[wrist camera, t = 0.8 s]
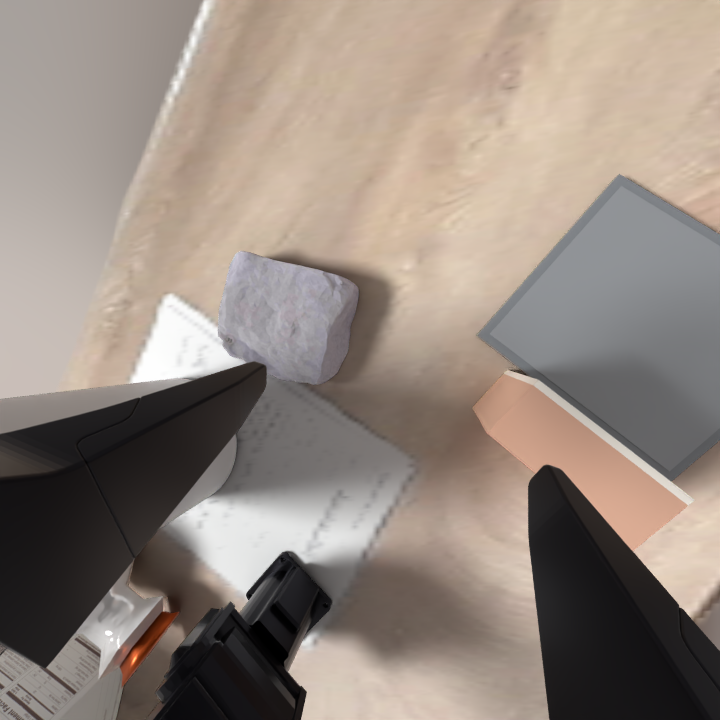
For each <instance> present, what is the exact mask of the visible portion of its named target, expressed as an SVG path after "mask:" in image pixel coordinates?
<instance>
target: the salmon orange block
mask: <svg viewBox="0 0 720 720" xmlns="http://www.w3.org/2000/svg"><path fill="white" fill-rule="evenodd" d="M472 409H473V410H474V412H475V414H476V415H477V417H478V419H479V420H480V422H481V424H482V426H483V427H484V429H485V431H486V432H487V434H488V435H490V436H491V437H492V438H493V439H494V440H496V441H497V442H498V443H499V444H500V445H502V446H503V447H504V448H505V449H506V450H508V451H509V452H510V453H511V454H512V455H514V456H515V457H516V458H517V459H518V460H520V461H521V462H522V463H523V464H524V465H526V466H527V467H528V468H529V469H530V470H532V471H533V472H534V473H535V474H536V473H537V472H538V471H539V470H540V468H541V467H542V466H543V465H546V464H548V465H551V466H554V467H557V468H560V469H561V470H563V472H564V473H565V474H566V475H567V476H568V477H569V478H570V480H571V481H572V482H573V483H574V484H575V485H576V487H577V488H578V489H579V490H580V491H581V492H582V493H583V495H584V496H585V497H586V498H587V499H588V500H589V502H590V503H591V504H592V505H593V506H594V507H595V508H596V510H597V511H598V512H599V513H600V514H601V515H602V516H603V518H604V519H605V520H606V521H607V522H608V523H609V525H610V526H611V527H612V528H613V529H614V530H615V531H616V533H617V534H618V535H619V536H620V537H621V538H622V540H623V541H624V542H625V543H626V544H627V545H628V546H629V548H630V549H631V550H632V551H634V550H635V549H636V548H637V547H638V546H640V545H641V544H642V543H643V542H645V541H646V540H647V539H648V538H649V537H651V536H652V535H653V534H654V533H655V532H657V531H658V530H659V529H660V528H662V527H663V526H664V525H665V524H666V523H668V522H669V521H670V520H671V519H673V518H674V517H675V516H676V515H677V514H679V513H680V512H681V511H682V510H683V509H685V508H686V507H687V506H688V505H690V504H691V503H692V502H693V501H694V499H693V498H692V497H690V496H689V495H688V494H686V493H685V492H684V491H682V490H681V489H680V488H679V487H677V486H676V485H675V484H673V483H672V482H671V481H669V480H668V479H667V478H666V477H664V476H663V475H662V474H660V473H659V472H658V471H657V470H655V469H654V468H653V467H651V466H650V465H649V464H647V463H646V462H645V461H644V460H642V459H641V458H640V457H638V456H637V455H636V454H634V453H633V452H632V451H631V450H629V449H628V448H627V447H625V446H624V445H623V444H621V443H620V442H619V441H618V440H616V439H615V438H614V437H612V436H611V435H610V434H608V433H607V432H606V431H605V430H603V429H602V428H601V427H599V426H598V425H597V424H595V423H594V422H593V421H592V420H590V419H589V418H588V417H586V416H585V415H584V414H582V413H581V412H580V411H579V410H577V409H576V408H575V407H573V406H572V405H571V404H569V403H568V402H567V401H566V400H564V399H563V398H562V397H560V396H559V395H558V394H557V393H555V392H554V391H553V390H551V389H550V388H549V387H547V386H546V385H545V384H544V383H542V382H541V381H540V380H538V379H535V378H531V377H528V376H525V375H522V374H519V373H516V372H512V371H509V370H507V371H506V372H505V373H504V374H503V375H502V376H501V377H500V378H499V379H498V380H497V381H496V382H495V383H494V385H493V386H492V387H491V388H490V389H489V390H488V391H487V392H486V393H485V394H484V395H483V396H482V397H481V399H480V400H479V401H478V402H477V403H476V404H475V405H474V406H473V407H472Z"/></svg>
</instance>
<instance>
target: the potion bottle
mask: <svg viewBox="0 0 720 720" xmlns="http://www.w3.org/2000/svg"><path fill="white" fill-rule="evenodd" d="M134 560H135V558H134ZM133 564H134V561H133V562H132V563H131V564H130V566H129V567H128V568H127V569H126V571H125V572H124V573H123V574H122V576H121V577H120V578H119V579H118V580H117V582H116V583H115V584H114V585H113V587H112V588H111V589H110V590H109V592H108V593H107V594H106V595H105V597H104V598H103V599H102V600H101V602H100V603H99V604H98V605H97V607H96V608H95V609H94V610H93V611H92V613H91V614H90V615H89V616H88V618H87V619H86V620H85V621H84V623H83V624H82V625H81V626H80V628H79V629H78V630H77V631H76V633H75V634H74V635H73V636H76V635H79V634H83V635H84V636H85V637H87V638H88V639H89V640H90V641H91V642H93V643H94V644H95V645H96V646H97V647H99V648H100V649H101V657H100V667H99V678H98V680H99V679H101V678H102V677H104V676H106V675H108V674H109V673H111V672H113V671H115V670H116V669H118V668H119V667H120V669H121V672H122V674H123V676H122V687H123V686H124V685H125V683H126V682H127V681H128V680H129V678H130V677H131V676H132V675H133V673H134V672H135V671H136V670H137V669H138V667H139V666H140V665H141V664H142V662H143V661H144V660H145V659H146V657H147V656H148V655H149V654H150V652H151V651H152V650H153V648H154V647H155V646H156V644H157V643H158V642H159V640H160V639H161V638H162V636H163V635H164V633H165V632H166V631H167V629H168V628H169V627H170V625H171V624H172V623H173V621H174V620H175V619H176V617H177V616H178V614H179V613H180V612H175V613H169V612H166V611H165V608H166V603H167V599H168V597H166V596H160V597H152V598H144V597H143V596H141V595H140V594H139V593H138V592H136V591H135V590H134V589H133V588H131V587H130V586H129V583H130V578H131V574H132V569H133ZM73 636H72V637H73ZM122 687H121V688H122Z"/></svg>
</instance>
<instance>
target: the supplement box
mask: <svg viewBox="0 0 720 720" xmlns="http://www.w3.org/2000/svg"><path fill="white" fill-rule="evenodd" d="M100 657H101V649H100V648H99V647H97V646H96V645H95V644H94V643H93V642H91V641H90V640H89V639H88V638H87V637H85V636H84V635H83V634H79V635H76V636H73V637H72V638H71V639H70V640H69V641H68V642H67V644H66V645H65V646H64V647H63V649H62V650H61V651H60V652H59V654H58V655H57V656H56V657H55V658H54V660H53V661H52V662H51V663H50V664H49V665H48V666H47V668H45V669H43V668H42V667H40V666H38V665H36V664H34V663H32V662H30V661H29V660H27V659H25V658H23V657H21V656H19V655H17V654H15V653H14V652H12V651H10V650H8V649H6V650H5V652H4V653H3V654H2V655H1V656H0V720H116V717H117V713H118V709H119V704H120V700H121V696H122V691H123V687H124V686H123V687H122V676H123V674H122V672H121V669H120V667H119V668H118V669H116V670H115V671H113V672H111V673H109V674H108V675H106V676H104V677H102V678H101V679H99V680H98V678H99V667H100ZM121 687H122V688H121Z"/></svg>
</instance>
